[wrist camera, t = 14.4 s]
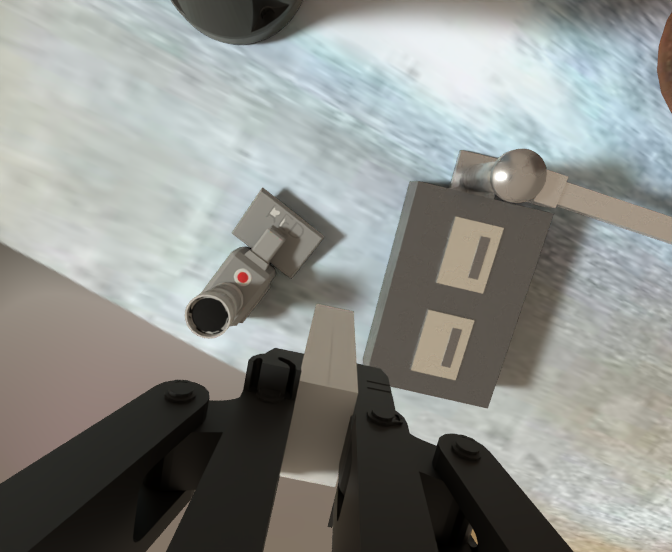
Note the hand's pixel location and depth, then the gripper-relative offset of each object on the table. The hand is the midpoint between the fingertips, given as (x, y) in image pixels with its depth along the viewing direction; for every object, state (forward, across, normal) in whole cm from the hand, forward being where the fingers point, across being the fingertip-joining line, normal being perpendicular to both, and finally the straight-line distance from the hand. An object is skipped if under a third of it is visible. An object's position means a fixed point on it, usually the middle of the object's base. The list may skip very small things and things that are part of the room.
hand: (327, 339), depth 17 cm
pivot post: (+34, +14, +9) cm, 38 cm away
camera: (+34, -9, -5) cm, 35 cm away
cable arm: (+25, +28, +8) cm, 38 cm away
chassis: (+34, +13, -4) cm, 36 cm away
